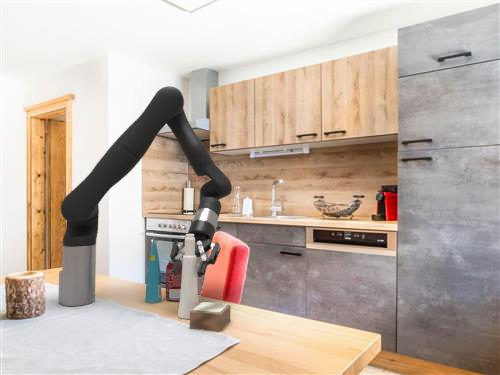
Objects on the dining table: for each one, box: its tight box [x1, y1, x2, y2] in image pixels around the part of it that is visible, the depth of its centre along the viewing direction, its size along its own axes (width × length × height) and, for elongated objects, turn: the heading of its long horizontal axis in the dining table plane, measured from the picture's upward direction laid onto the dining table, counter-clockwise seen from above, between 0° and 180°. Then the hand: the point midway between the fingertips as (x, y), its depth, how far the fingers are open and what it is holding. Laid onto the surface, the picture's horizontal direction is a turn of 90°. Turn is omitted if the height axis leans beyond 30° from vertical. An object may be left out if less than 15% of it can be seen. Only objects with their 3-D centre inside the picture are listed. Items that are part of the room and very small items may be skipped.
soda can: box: [165, 259, 183, 302], centre depth 116 cm, size 7×7×12 cm
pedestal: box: [189, 301, 232, 332], centre depth 93 cm, size 8×8×4 cm
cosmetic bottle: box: [177, 233, 200, 320], centre depth 100 cm, size 6×6×22 cm
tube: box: [144, 237, 163, 304], centre depth 113 cm, size 7×5×19 cm, turn 23°
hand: (187, 274), depth 98 cm, fingers open, 6 cm apart
